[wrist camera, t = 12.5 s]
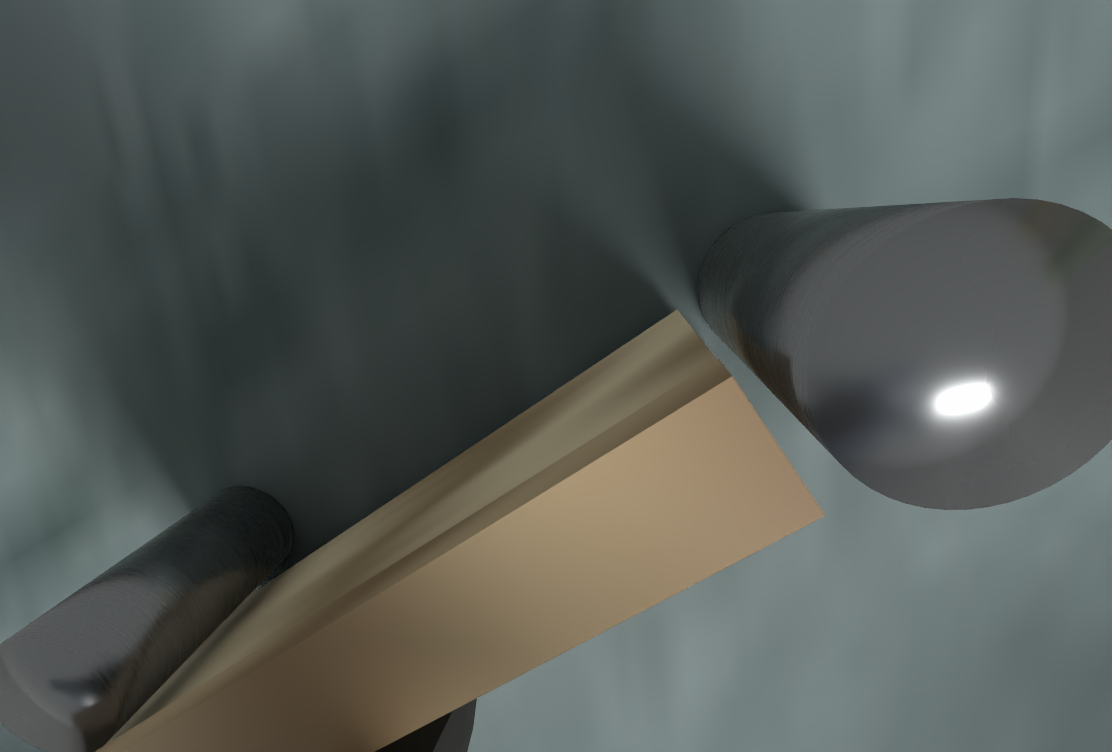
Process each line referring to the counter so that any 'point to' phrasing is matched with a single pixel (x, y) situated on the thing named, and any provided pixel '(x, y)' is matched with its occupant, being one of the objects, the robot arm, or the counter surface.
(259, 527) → the post
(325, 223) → the counter surface
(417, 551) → the gate
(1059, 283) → the hinge post
